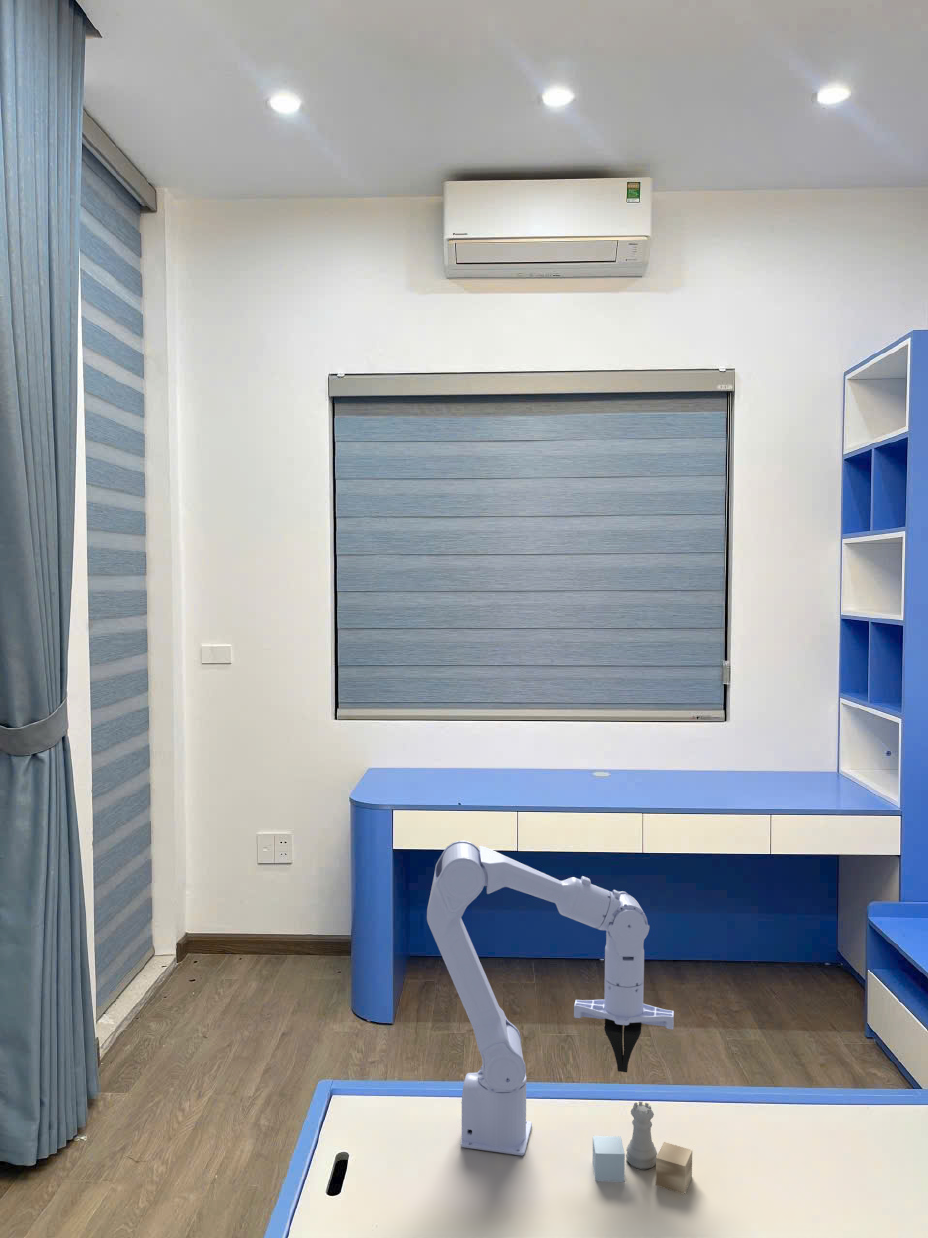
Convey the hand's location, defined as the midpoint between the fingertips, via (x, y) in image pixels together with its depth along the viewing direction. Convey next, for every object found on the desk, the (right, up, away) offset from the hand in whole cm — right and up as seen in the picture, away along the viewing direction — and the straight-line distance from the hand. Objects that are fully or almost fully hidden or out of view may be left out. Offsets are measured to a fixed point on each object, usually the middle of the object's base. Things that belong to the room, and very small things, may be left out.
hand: (622, 1068), depth 137 cm
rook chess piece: (+2, -11, -5) cm, 12 cm away
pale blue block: (-3, -11, -8) cm, 14 cm away
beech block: (+5, -11, -10) cm, 16 cm away
